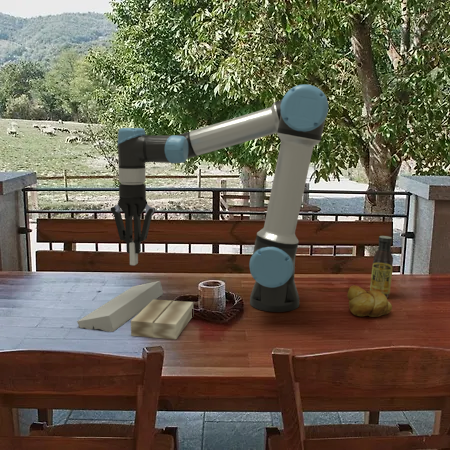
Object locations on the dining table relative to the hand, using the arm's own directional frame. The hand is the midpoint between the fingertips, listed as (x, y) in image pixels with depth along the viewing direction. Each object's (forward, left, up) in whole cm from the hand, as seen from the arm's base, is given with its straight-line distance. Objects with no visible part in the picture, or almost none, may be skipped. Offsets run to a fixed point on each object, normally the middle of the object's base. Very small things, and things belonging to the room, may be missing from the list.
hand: (133, 263), depth 149 cm
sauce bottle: (-73, -29, -14) cm, 80 cm away
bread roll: (-68, -11, -14) cm, 71 cm away
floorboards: (-12, +10, -14) cm, 21 cm away
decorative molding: (+3, 0, -15) cm, 15 cm away
